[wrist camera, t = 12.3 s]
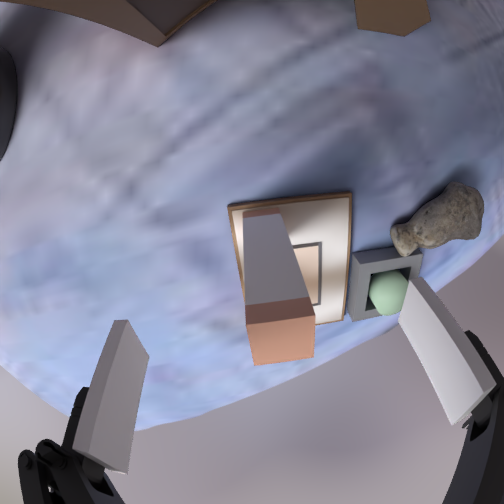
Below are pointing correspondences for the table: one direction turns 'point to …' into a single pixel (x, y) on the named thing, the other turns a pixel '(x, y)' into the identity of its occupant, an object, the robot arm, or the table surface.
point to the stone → (441, 220)
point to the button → (388, 291)
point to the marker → (275, 292)
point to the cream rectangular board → (310, 245)
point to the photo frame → (192, 3)
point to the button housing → (375, 263)
